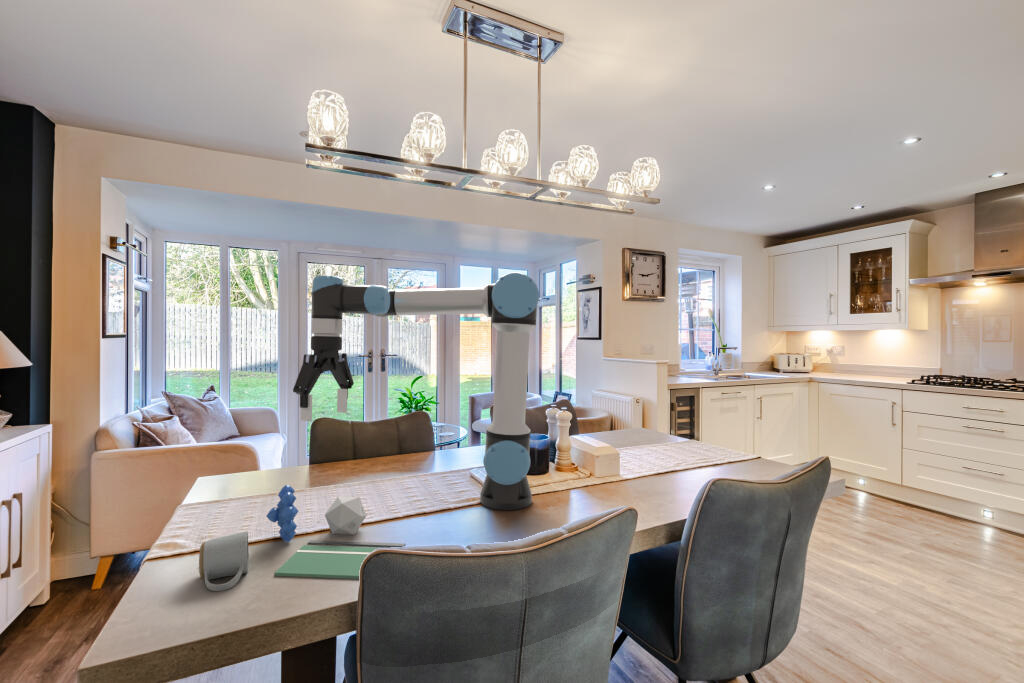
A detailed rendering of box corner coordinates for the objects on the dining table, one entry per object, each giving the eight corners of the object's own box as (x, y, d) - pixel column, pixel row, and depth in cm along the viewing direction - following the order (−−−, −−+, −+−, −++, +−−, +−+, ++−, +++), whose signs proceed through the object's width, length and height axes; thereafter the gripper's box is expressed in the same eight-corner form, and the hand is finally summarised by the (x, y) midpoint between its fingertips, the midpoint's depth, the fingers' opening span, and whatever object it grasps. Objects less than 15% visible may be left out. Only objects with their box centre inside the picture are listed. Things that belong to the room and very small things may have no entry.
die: (341, 546, 105) (369, 507, 108) (311, 523, 107) (339, 485, 110) (352, 543, 113) (378, 507, 116) (324, 522, 114) (350, 487, 118)
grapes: (264, 532, 110) (265, 482, 110) (295, 526, 113) (296, 478, 113) (267, 552, 100) (268, 497, 100) (301, 545, 103) (302, 492, 103)
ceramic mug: (201, 570, 92) (202, 532, 92) (248, 561, 96) (249, 525, 96) (196, 598, 83) (196, 556, 82) (248, 587, 87) (249, 547, 86)
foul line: (404, 544, 105) (404, 543, 105) (403, 547, 104) (403, 545, 104) (310, 541, 106) (310, 540, 106) (307, 543, 104) (307, 542, 104)
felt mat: (401, 551, 102) (401, 548, 102) (384, 579, 90) (385, 576, 90) (303, 547, 102) (303, 544, 102) (274, 575, 90) (274, 572, 90)
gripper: (345, 335, 133) (343, 408, 133) (277, 334, 109) (276, 423, 110) (367, 336, 131) (365, 410, 131) (303, 335, 107) (301, 425, 107)
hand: (325, 416), depth 120 cm, fingers open, 13 cm apart
